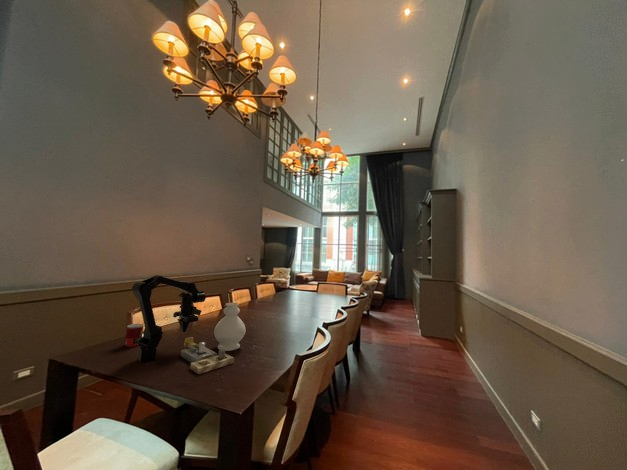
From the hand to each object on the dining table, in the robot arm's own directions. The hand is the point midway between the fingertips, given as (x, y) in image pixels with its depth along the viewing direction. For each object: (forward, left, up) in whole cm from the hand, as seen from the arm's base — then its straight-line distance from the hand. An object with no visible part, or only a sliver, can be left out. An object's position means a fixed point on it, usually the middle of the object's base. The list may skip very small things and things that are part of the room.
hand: (184, 332), depth 143 cm
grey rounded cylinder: (0, -20, -9) cm, 22 cm away
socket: (0, -18, -9) cm, 20 cm away
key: (0, -10, -6) cm, 11 cm away
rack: (0, -32, -9) cm, 33 cm away
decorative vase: (+20, -15, -9) cm, 27 cm away
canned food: (-17, +24, -9) cm, 31 cm away
